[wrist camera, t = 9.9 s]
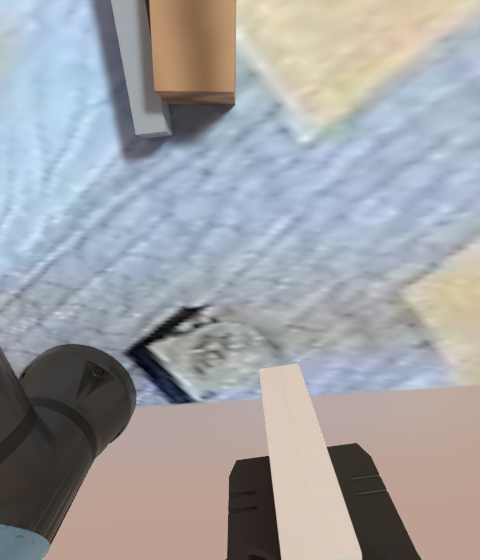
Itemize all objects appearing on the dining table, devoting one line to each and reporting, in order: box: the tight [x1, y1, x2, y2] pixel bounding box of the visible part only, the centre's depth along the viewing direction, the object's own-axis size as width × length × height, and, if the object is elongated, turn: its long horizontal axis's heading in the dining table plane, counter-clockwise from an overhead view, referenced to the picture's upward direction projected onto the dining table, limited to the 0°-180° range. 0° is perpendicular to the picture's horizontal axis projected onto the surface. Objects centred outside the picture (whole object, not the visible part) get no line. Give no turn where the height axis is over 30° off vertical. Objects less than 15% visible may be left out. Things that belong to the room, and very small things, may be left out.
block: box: [149, 0, 236, 105], centre depth 30 cm, size 7×14×6 cm, turn 179°
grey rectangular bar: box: [111, 0, 173, 138], centre depth 31 cm, size 3×18×4 cm, turn 6°
